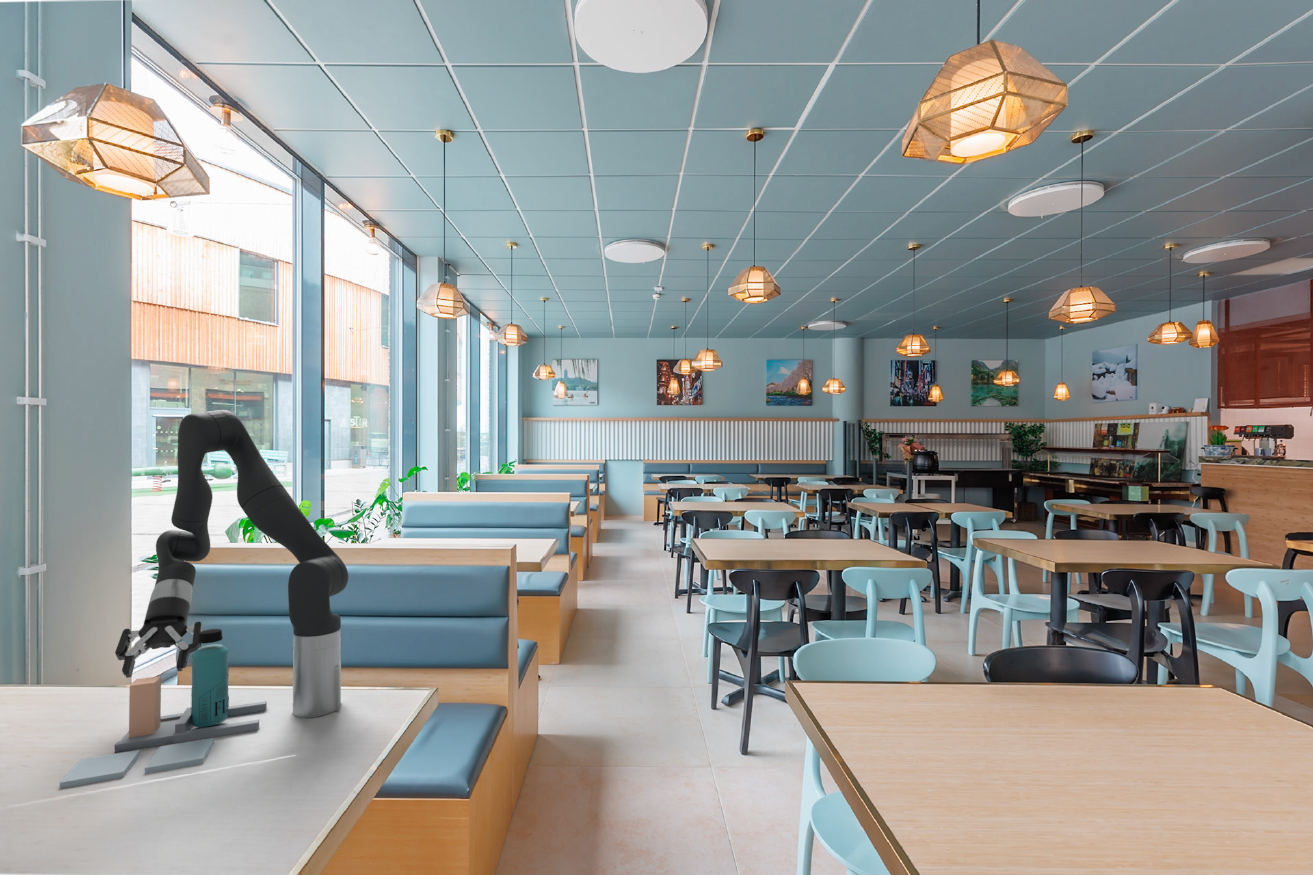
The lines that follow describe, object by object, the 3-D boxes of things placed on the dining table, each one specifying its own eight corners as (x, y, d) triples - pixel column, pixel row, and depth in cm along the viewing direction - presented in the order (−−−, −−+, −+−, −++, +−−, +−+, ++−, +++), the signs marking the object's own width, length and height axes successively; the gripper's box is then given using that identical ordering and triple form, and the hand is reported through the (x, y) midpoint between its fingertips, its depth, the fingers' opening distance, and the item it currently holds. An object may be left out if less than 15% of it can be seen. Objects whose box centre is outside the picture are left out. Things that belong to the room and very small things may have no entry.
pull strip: (266, 707, 139) (267, 657, 139) (257, 729, 128) (258, 675, 128) (136, 727, 129) (137, 673, 130) (114, 752, 118) (115, 693, 119)
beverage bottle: (215, 734, 127) (216, 634, 127) (181, 735, 126) (183, 634, 127) (236, 720, 133) (237, 625, 134) (204, 721, 133) (205, 625, 133)
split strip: (214, 743, 122) (214, 737, 122) (203, 764, 114) (203, 757, 114) (81, 765, 114) (81, 758, 114) (59, 789, 106) (59, 782, 106)
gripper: (125, 598, 135) (105, 668, 125) (205, 592, 141) (192, 658, 131) (133, 617, 140) (114, 687, 129) (210, 610, 146) (198, 676, 135)
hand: (153, 672), depth 130 cm, fingers open, 8 cm apart
